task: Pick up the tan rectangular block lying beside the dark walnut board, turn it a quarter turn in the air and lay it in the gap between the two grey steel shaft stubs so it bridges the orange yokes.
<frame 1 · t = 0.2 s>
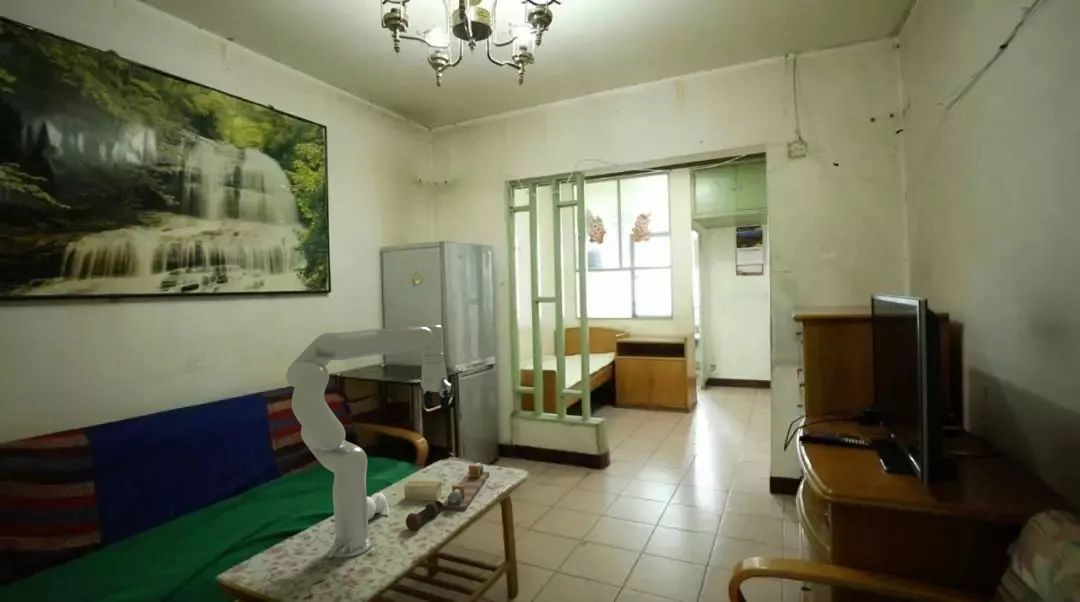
hand: (436, 406, 163), 37 cm above the table, tool pointing down, fingers open, 9 cm apart
bolt: (427, 520, 154), on the table
shaft base: (467, 491, 175), on the table
cat figurine: (372, 518, 157), on the table
tan rectangular block: (423, 497, 171), on the table
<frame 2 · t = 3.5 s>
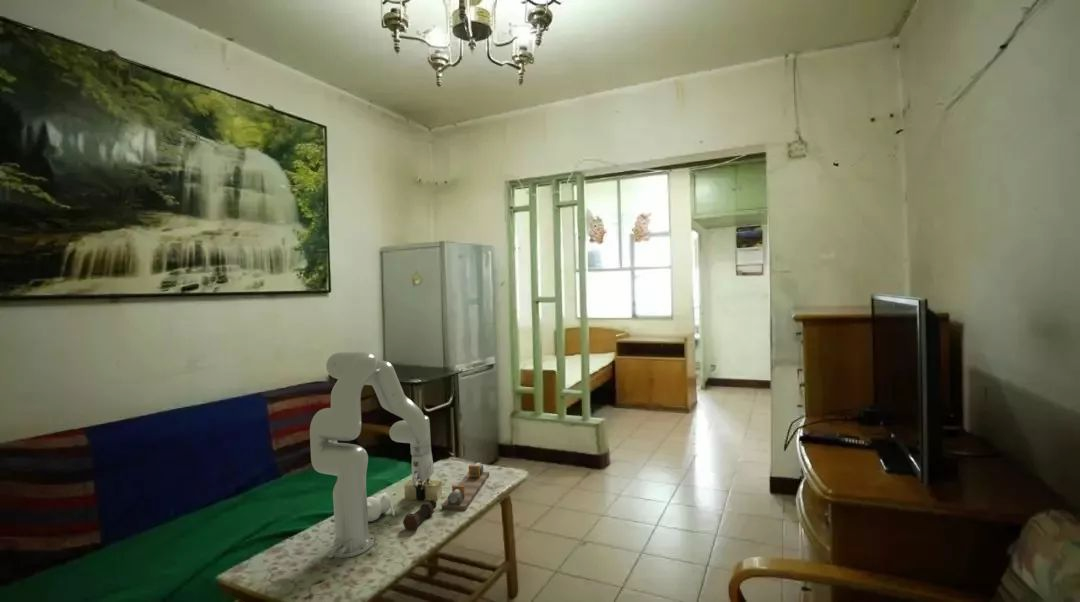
hand: (423, 495, 171), 1 cm above the table, tool pointing down, fingers closed on tan rectangular block, 4 cm apart
bolt: (422, 520, 154), on the table
cat figurine: (378, 518, 157), on the table
tan rectangular block: (423, 497, 171), on the table, touching gripper
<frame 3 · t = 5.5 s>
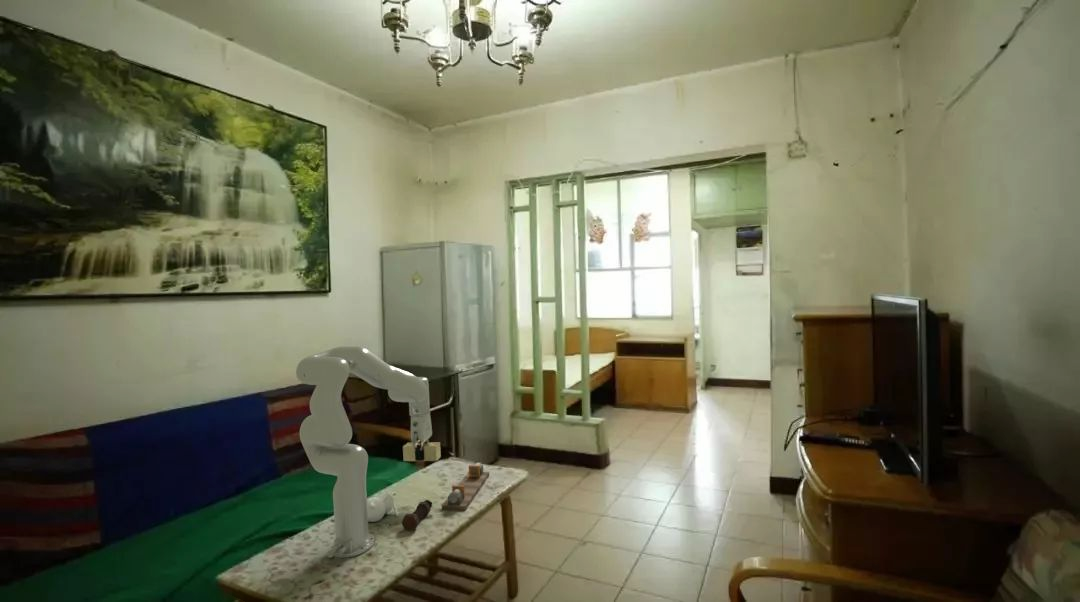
hand: (422, 457, 171), 15 cm above the table, tool pointing down, fingers closed on tan rectangular block, 4 cm apart
cat figurine: (381, 518, 156), on the table
tan rectangular block: (422, 458, 171), point 15 cm above the table, touching gripper
when the fingers open (2 cm above the table, at t = 9.3 s): tan rectangular block stays where it is, resting on shaft base.
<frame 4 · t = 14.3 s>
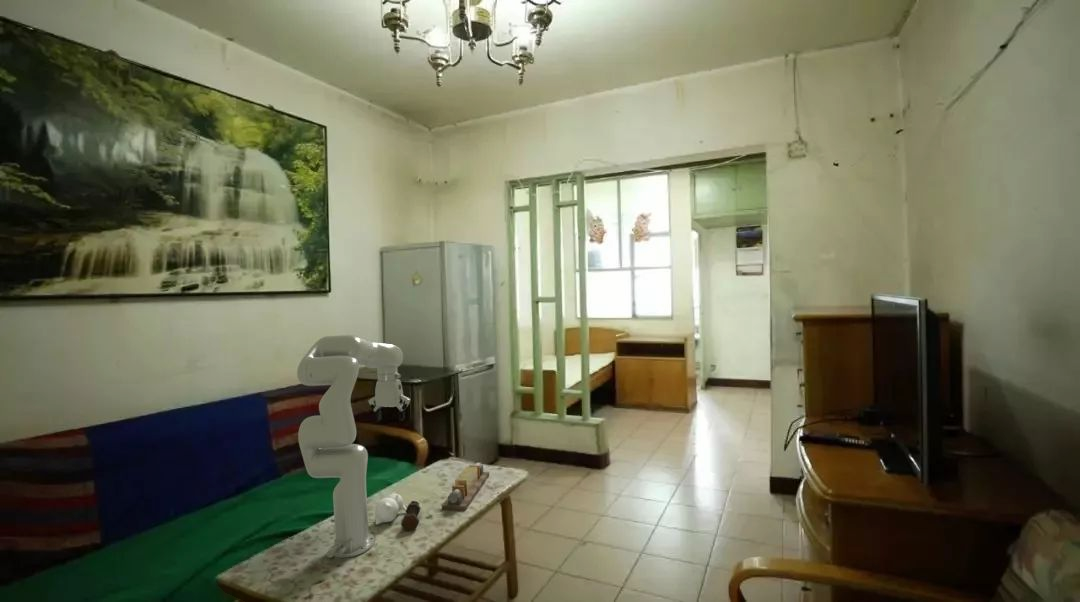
hand: (390, 420, 177), 28 cm above the table, tool pointing down, fingers open, 9 cm apart
bolt: (413, 520, 154), on the table
cat figurine: (392, 518, 156), on the table
tan rectangular block: (467, 487, 175), point 1 cm above the table, touching shaft base
at the end: tan rectangular block 0.0 cm off-centre on the shaft base, point 1.5 cm above the shaft base's base; the gripper is holding nothing; tan rectangular block touching shaft base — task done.
